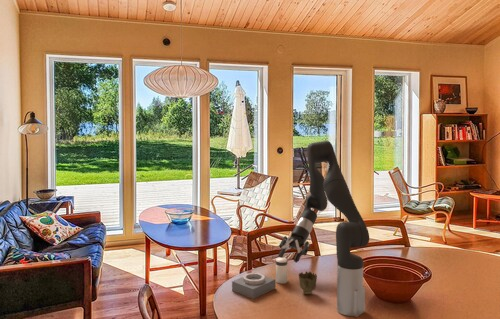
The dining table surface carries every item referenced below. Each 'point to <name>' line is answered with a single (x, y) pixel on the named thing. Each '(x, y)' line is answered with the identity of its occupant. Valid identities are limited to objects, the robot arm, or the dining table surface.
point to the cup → (307, 282)
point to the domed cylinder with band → (281, 270)
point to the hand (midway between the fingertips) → (287, 259)
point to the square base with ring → (253, 285)
